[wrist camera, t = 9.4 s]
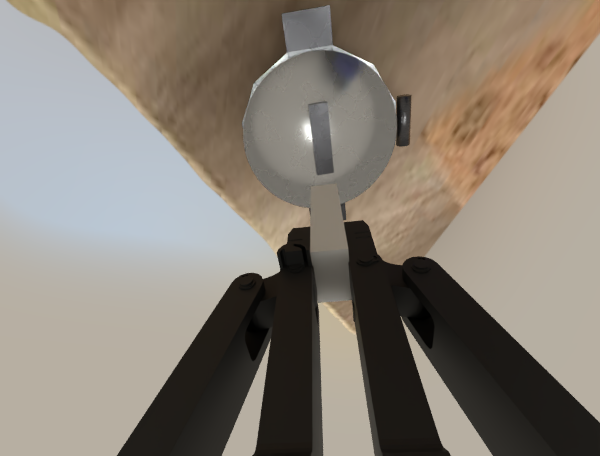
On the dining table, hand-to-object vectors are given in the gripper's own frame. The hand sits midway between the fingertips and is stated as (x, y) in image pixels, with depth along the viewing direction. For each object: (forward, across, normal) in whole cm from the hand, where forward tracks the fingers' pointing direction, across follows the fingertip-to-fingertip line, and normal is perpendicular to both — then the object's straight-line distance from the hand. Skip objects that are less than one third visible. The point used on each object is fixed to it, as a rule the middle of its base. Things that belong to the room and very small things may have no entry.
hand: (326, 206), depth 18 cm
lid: (+16, 0, 0) cm, 16 cm away
